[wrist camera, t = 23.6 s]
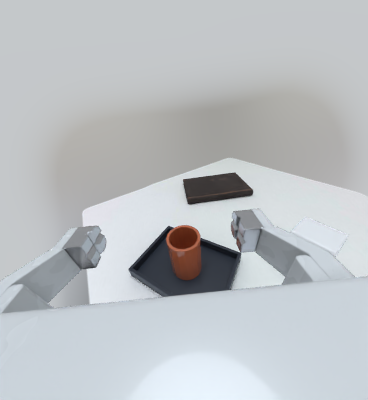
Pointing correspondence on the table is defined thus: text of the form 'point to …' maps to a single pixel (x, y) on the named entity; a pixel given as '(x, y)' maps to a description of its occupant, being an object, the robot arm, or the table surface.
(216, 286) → the tray
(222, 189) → the hardcover book
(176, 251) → the cup
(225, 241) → the table surface
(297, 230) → the security camera
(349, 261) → the table surface
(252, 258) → the table surface
